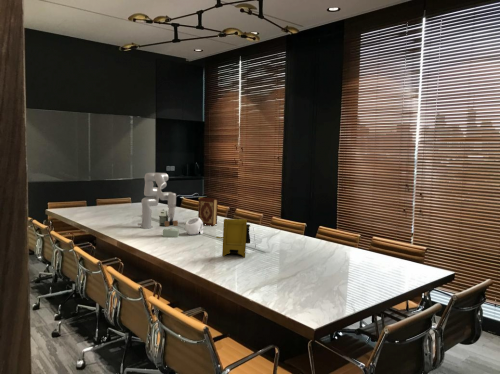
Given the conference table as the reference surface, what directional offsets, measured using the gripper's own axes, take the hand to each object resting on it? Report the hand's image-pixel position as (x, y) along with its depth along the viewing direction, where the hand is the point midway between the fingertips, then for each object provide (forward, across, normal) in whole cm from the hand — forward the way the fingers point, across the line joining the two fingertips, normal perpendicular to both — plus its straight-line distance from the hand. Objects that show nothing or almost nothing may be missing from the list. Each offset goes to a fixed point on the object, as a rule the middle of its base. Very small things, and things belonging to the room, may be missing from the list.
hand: (171, 225), depth 368 cm
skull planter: (+11, -12, +22) cm, 27 cm away
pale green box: (+11, 0, 0) cm, 11 cm away
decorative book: (+10, -67, +32) cm, 75 cm away
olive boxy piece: (+12, +66, +59) cm, 89 cm away
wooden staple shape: (+1, +2, 0) cm, 2 cm away
